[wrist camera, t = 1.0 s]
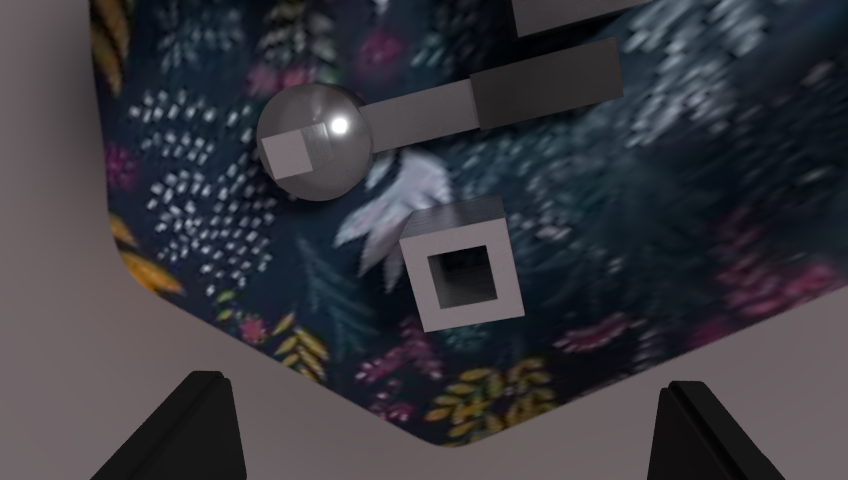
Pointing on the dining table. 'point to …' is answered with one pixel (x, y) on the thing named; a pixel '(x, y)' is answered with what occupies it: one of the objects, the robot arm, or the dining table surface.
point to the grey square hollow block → (560, 15)
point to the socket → (469, 286)
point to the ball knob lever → (419, 115)
